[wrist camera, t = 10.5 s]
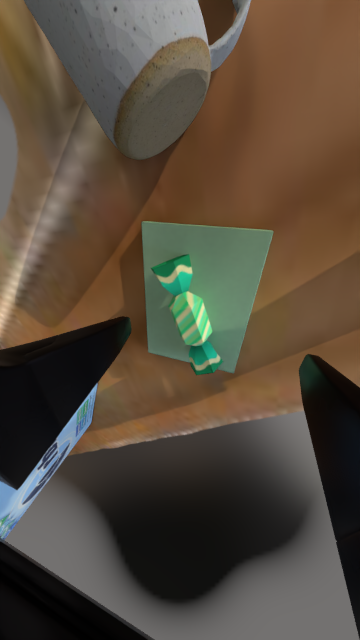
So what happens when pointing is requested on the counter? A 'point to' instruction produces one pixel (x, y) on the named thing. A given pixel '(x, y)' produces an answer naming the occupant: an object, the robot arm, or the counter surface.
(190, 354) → the candy
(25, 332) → the counter surface
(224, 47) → the ceramic mug
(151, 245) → the cutting board
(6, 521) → the gum box
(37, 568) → the robot arm
